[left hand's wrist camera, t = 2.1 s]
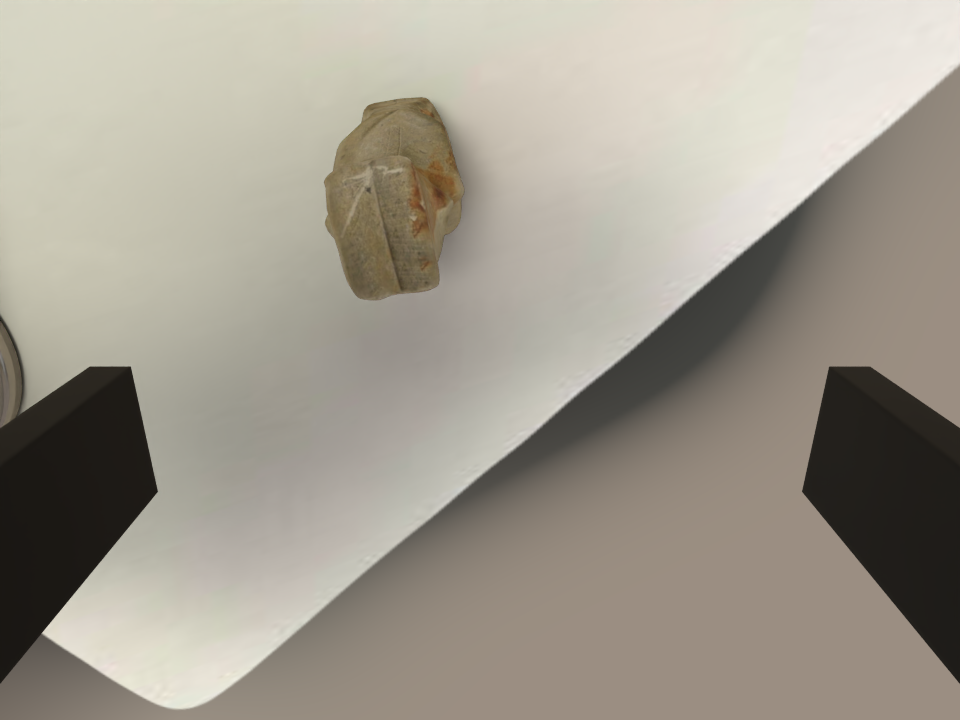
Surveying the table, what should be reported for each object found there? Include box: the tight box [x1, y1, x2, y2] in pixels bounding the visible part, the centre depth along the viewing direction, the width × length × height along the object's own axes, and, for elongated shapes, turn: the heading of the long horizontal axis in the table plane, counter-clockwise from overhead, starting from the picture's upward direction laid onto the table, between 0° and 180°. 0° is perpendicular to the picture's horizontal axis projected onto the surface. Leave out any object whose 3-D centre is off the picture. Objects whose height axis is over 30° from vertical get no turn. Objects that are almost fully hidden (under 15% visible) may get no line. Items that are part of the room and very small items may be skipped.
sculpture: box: [324, 97, 464, 300], centre depth 29 cm, size 6×7×15 cm
